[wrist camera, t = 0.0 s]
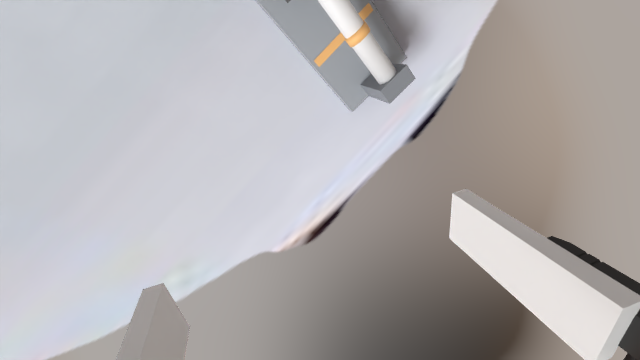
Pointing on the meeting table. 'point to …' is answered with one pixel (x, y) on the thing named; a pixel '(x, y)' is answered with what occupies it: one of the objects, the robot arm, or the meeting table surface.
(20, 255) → the meeting table surface
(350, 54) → the pipe stand
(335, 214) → the meeting table surface
